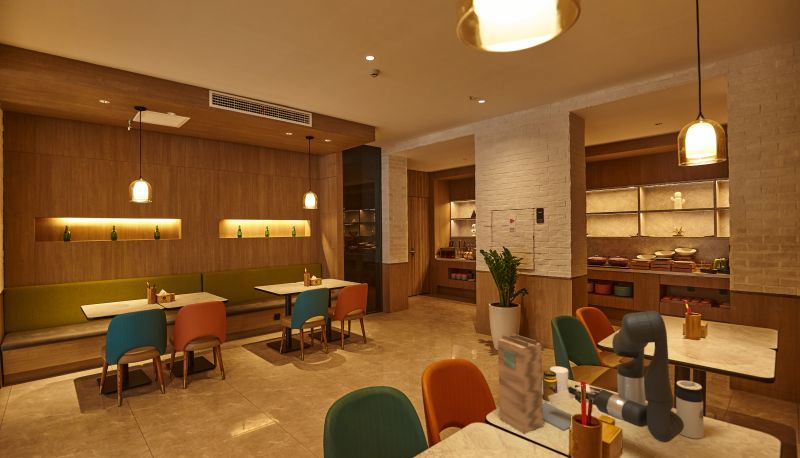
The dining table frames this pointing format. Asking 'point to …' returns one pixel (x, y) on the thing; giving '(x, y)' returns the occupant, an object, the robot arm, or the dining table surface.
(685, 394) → the travel mug
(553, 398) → the ivory plug peg
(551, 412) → the slate board
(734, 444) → the dining table surface
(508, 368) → the walnut tower
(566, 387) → the white cup
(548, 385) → the condiment
